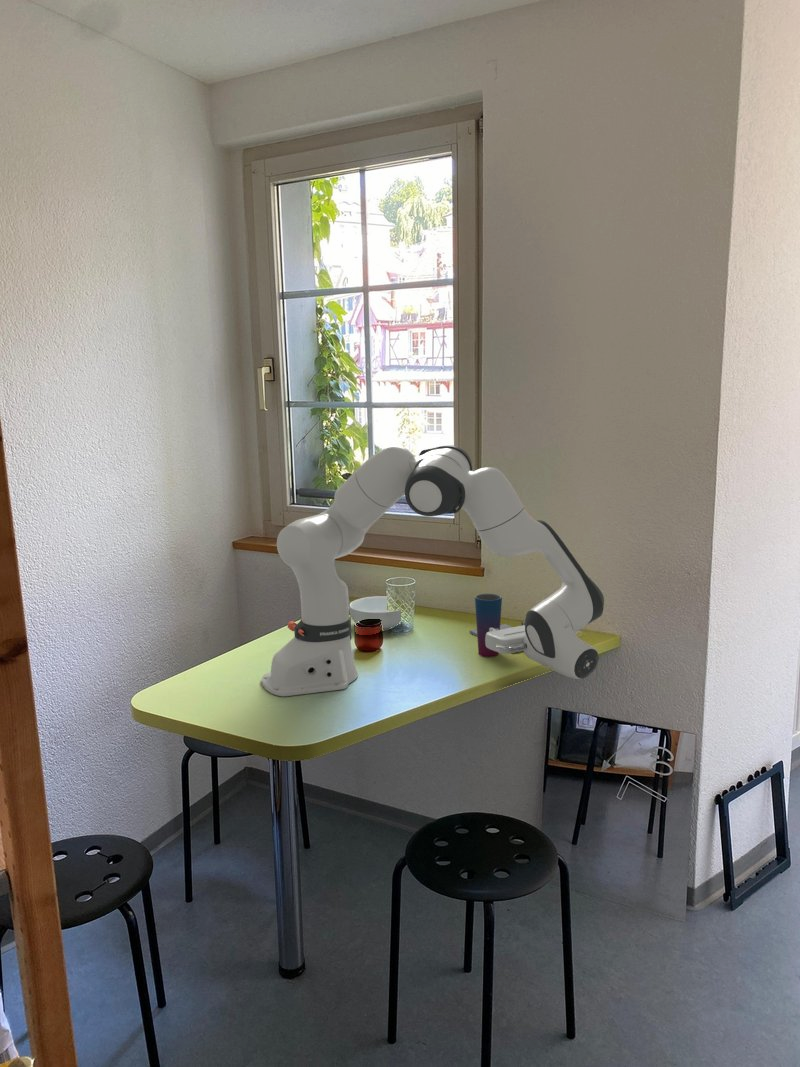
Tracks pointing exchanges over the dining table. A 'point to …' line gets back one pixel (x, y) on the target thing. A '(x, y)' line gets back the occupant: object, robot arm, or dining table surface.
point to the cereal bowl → (374, 611)
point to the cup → (487, 619)
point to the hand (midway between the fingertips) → (507, 627)
